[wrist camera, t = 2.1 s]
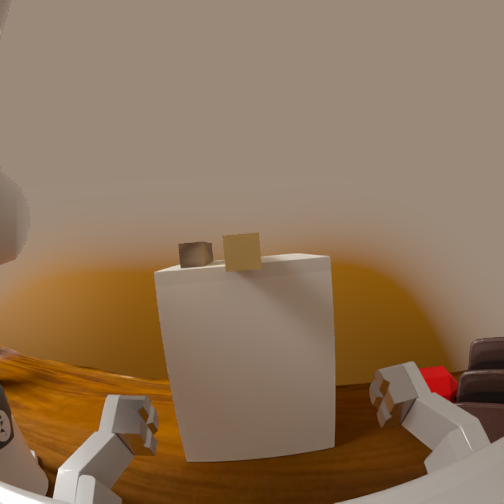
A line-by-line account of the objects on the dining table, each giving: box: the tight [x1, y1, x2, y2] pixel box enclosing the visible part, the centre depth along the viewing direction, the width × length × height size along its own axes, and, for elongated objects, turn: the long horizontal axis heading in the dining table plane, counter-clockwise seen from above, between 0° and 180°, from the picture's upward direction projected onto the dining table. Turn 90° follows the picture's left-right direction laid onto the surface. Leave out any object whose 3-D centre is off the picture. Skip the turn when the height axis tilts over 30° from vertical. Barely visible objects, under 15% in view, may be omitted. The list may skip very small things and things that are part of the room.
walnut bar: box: [179, 242, 213, 268], centre depth 46 cm, size 3×14×3 cm, turn 3°
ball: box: [419, 366, 458, 403], centre depth 39 cm, size 8×8×8 cm
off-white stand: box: [154, 253, 335, 462], centre depth 46 cm, size 20×20×26 cm
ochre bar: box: [223, 233, 262, 272], centre depth 39 cm, size 3×24×3 cm, turn 3°
